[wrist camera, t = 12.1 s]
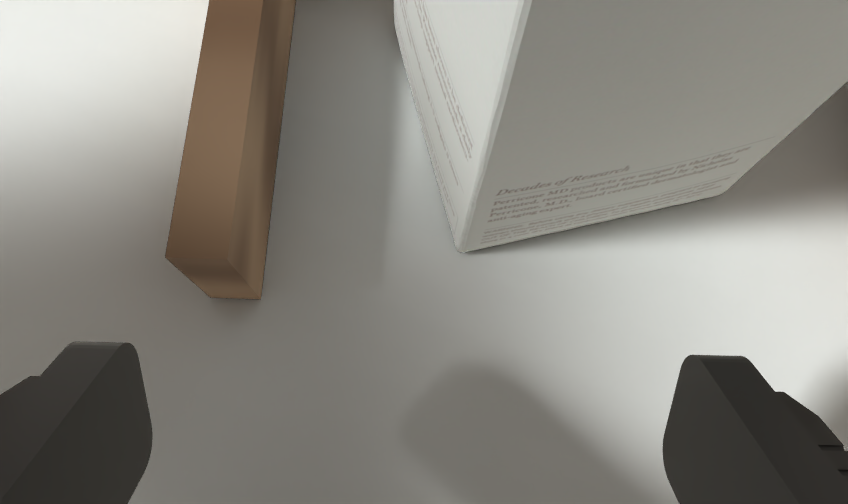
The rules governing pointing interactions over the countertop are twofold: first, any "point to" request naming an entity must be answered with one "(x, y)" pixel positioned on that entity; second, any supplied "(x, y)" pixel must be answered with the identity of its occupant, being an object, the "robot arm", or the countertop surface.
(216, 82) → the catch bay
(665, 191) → the supplement box
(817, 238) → the countertop surface
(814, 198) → the countertop surface
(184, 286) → the countertop surface
